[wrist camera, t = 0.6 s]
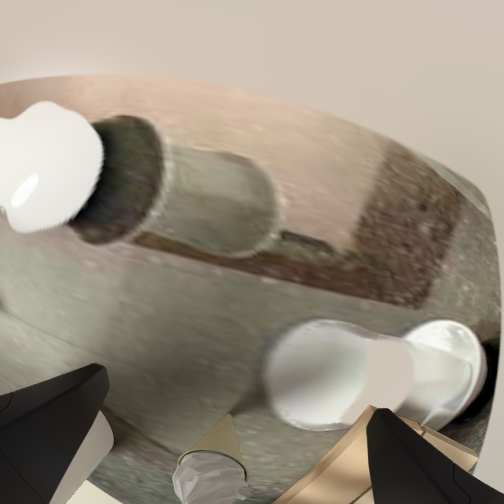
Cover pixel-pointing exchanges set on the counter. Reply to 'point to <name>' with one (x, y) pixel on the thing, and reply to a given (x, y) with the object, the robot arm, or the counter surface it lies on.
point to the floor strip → (339, 469)
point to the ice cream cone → (212, 468)
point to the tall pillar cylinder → (85, 459)
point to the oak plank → (442, 443)
